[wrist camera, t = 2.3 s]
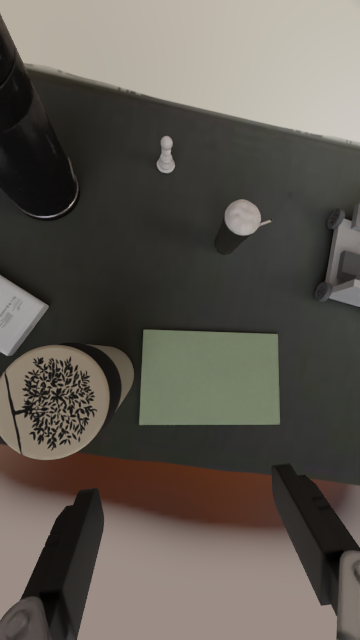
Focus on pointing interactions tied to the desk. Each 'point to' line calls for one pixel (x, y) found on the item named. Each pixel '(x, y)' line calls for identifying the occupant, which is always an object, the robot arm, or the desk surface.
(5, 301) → the hard drive
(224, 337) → the mat
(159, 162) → the chess pawn
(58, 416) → the travel mug
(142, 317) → the desk surface
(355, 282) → the toy car
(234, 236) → the milkshake
